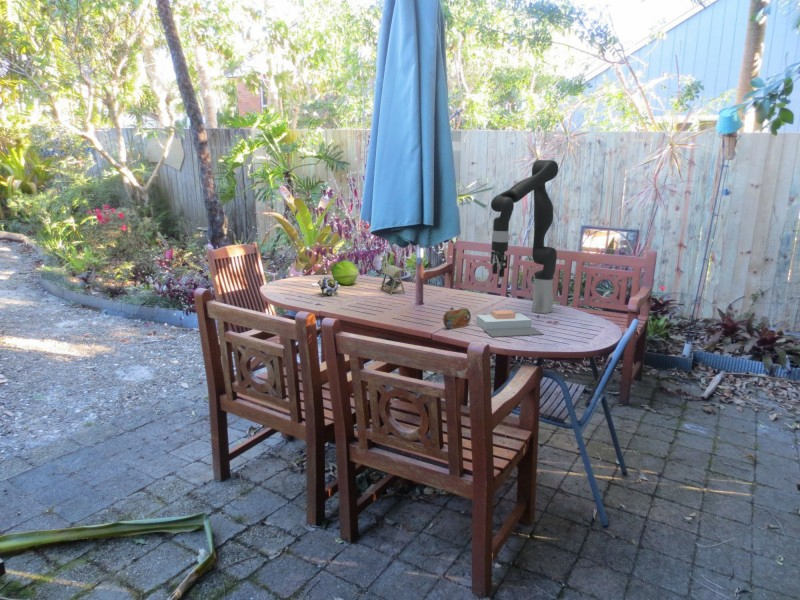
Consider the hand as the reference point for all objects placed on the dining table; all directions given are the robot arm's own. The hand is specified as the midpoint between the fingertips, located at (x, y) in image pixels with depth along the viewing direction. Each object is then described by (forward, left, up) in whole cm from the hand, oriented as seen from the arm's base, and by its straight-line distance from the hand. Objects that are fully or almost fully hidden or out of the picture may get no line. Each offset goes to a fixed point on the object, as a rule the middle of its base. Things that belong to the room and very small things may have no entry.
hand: (498, 275), depth 253 cm
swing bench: (+36, -70, -22) cm, 81 cm away
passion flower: (+74, -68, -22) cm, 103 cm away
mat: (0, +21, -22) cm, 30 cm away
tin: (+22, +7, -22) cm, 32 cm away
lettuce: (+61, -96, -22) cm, 116 cm away
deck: (0, +9, -22) cm, 24 cm away
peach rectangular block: (0, +9, -18) cm, 20 cm away
